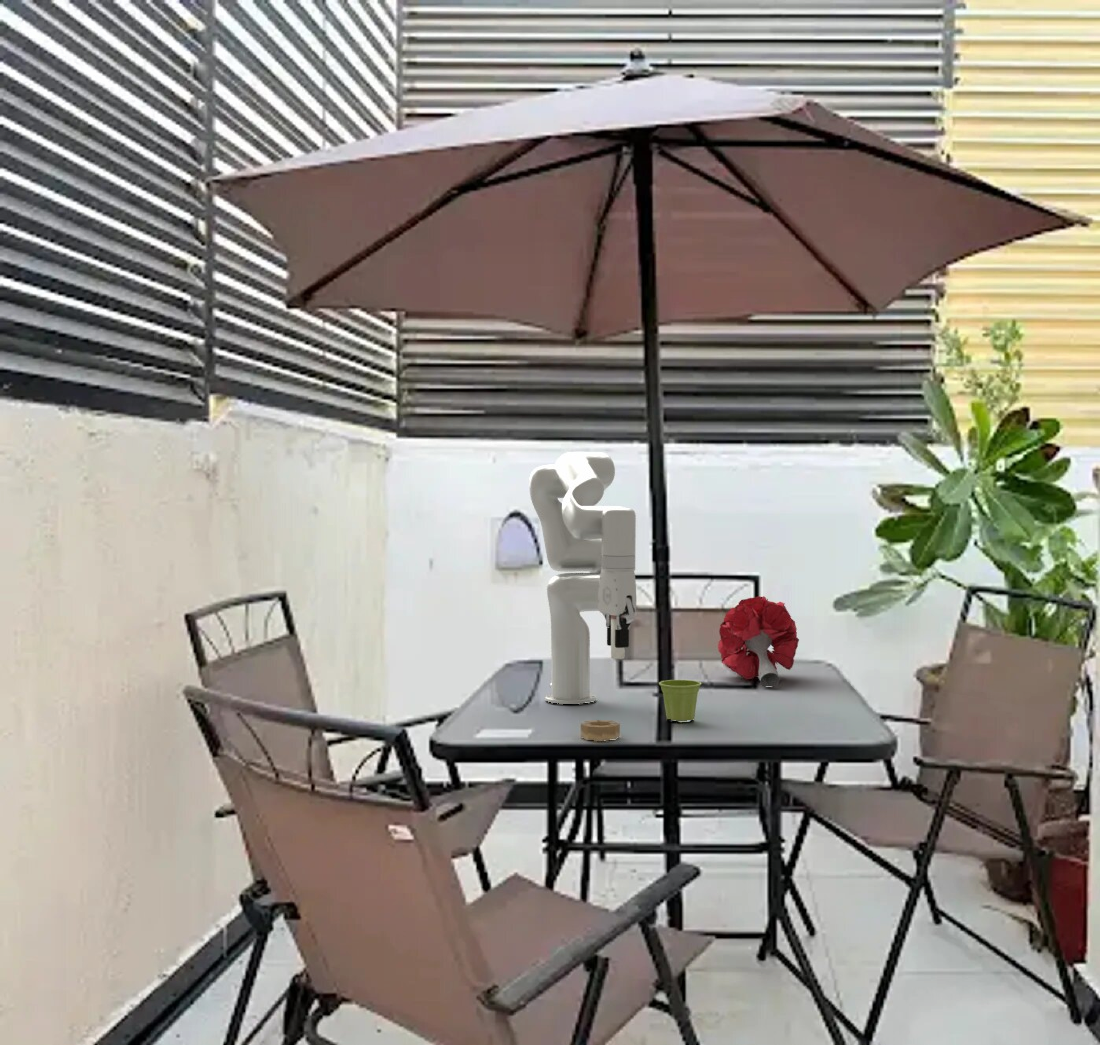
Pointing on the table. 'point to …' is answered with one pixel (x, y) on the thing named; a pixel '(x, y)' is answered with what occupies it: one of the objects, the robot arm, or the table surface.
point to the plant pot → (680, 698)
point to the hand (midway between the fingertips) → (617, 645)
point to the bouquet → (758, 639)
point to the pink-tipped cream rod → (615, 652)
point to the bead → (600, 730)
